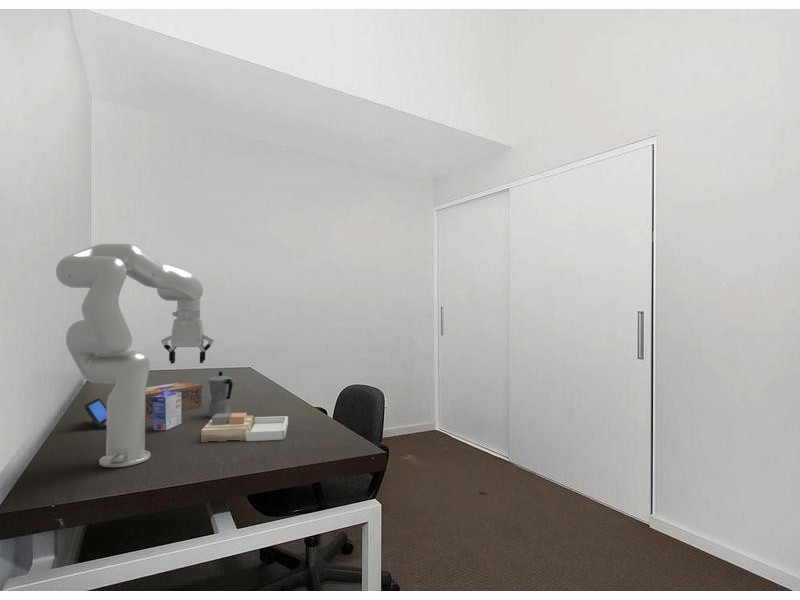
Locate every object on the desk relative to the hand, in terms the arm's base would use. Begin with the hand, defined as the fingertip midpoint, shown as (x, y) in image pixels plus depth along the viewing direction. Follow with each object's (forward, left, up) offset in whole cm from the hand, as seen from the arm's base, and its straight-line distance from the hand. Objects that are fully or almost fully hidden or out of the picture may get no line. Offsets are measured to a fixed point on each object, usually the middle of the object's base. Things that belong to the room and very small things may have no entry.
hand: (187, 362), depth 161 cm
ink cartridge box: (+7, +8, -25) cm, 27 cm away
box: (-6, -29, -24) cm, 38 cm away
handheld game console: (+15, +31, -25) cm, 42 cm away
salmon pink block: (-6, -19, -20) cm, 28 cm away
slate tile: (-6, -13, -20) cm, 25 cm away
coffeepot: (+22, -8, -25) cm, 34 cm away
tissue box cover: (+36, +18, -25) cm, 47 cm away
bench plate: (-6, -16, -24) cm, 30 cm away
